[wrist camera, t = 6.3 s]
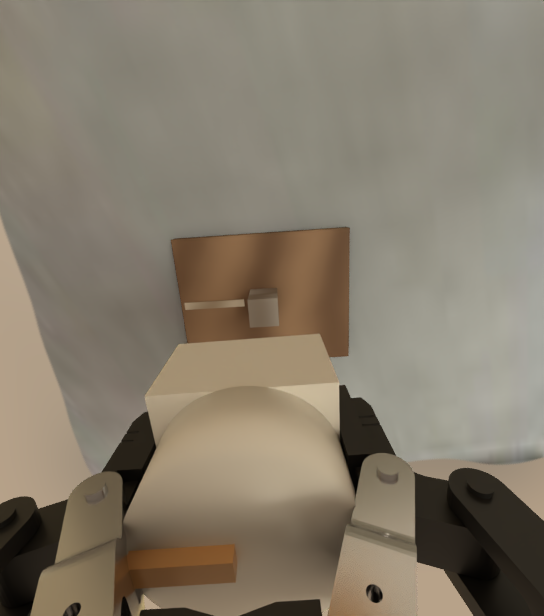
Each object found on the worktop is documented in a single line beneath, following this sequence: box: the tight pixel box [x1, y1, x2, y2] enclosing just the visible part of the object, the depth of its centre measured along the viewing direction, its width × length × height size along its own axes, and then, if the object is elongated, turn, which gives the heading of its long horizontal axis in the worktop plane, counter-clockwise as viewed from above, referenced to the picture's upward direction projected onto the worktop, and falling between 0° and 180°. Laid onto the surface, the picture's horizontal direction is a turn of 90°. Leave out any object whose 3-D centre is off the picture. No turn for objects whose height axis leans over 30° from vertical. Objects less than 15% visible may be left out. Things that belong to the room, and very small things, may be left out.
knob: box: [123, 334, 356, 616], centre depth 10 cm, size 6×6×6 cm
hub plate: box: [171, 227, 350, 357], centre depth 26 cm, size 14×11×4 cm
